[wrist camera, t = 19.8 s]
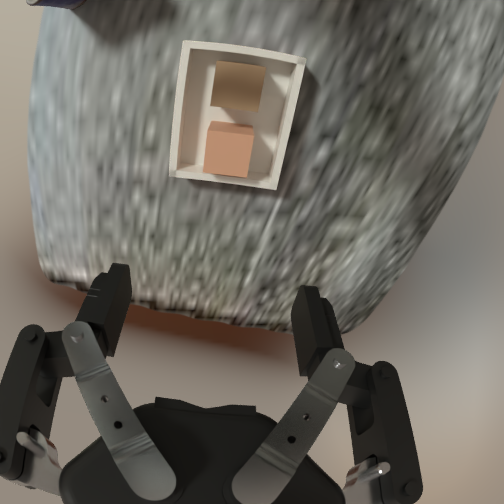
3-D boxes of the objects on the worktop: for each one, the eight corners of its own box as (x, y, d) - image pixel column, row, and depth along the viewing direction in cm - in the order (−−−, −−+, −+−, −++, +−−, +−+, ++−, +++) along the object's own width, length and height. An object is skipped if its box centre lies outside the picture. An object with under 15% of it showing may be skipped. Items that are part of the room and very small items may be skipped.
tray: (189, 41, 26) (183, 40, 23) (300, 58, 27) (306, 58, 25) (174, 165, 35) (168, 176, 32) (273, 177, 36) (276, 190, 33)
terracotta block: (207, 157, 33) (202, 172, 30) (211, 120, 31) (207, 130, 27) (246, 162, 34) (246, 177, 30) (252, 125, 31) (254, 135, 28)
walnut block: (219, 60, 27) (216, 60, 23) (262, 65, 27) (266, 67, 23) (213, 99, 29) (210, 106, 26) (255, 104, 30) (257, 112, 26)
